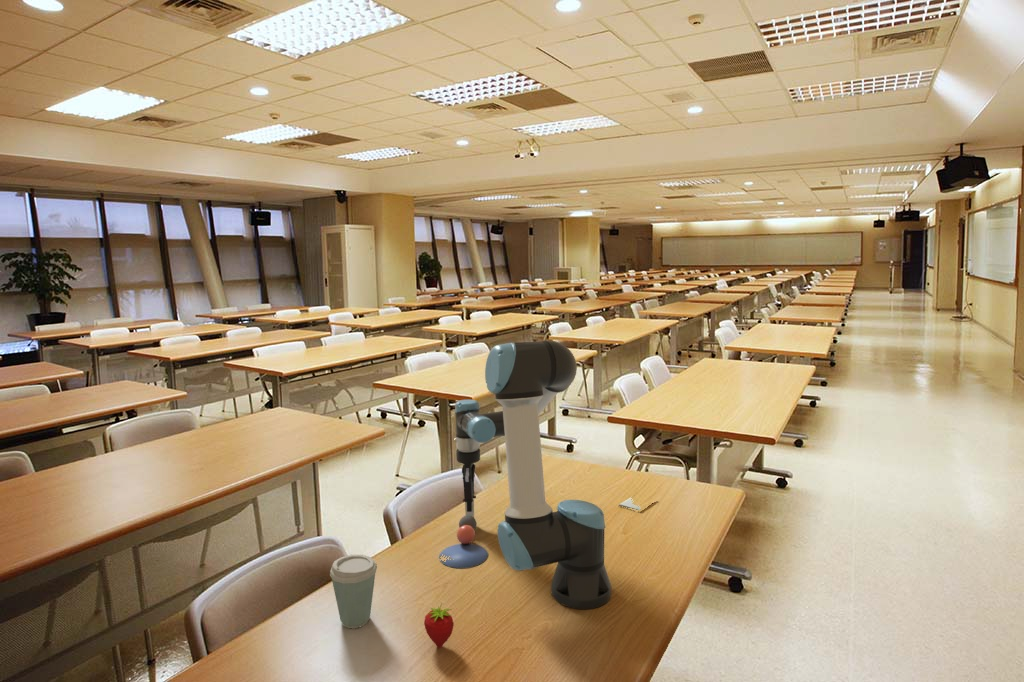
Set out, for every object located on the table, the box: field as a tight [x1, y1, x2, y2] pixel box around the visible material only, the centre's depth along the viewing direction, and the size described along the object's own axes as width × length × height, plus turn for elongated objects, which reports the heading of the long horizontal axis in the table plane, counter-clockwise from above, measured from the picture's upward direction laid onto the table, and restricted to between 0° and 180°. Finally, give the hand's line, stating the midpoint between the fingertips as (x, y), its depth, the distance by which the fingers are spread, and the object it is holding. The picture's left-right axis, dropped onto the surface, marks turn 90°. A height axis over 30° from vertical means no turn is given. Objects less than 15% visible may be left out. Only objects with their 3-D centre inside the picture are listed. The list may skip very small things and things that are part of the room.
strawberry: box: [423, 602, 455, 648], centre depth 127 cm, size 6×8×10 cm
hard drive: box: [618, 497, 641, 510], centre depth 201 cm, size 2×8×12 cm
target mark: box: [438, 543, 489, 569], centre depth 167 cm, size 14×14×1 cm
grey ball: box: [458, 515, 477, 531], centre depth 181 cm, size 6×6×6 cm
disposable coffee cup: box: [329, 554, 378, 629], centre depth 136 cm, size 11×11×15 cm
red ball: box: [456, 525, 476, 544], centre depth 174 cm, size 6×6×6 cm
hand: (470, 519), depth 187 cm, fingers closed
